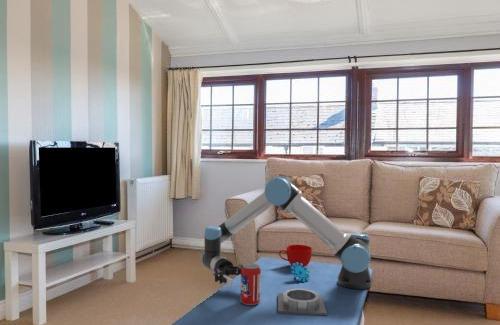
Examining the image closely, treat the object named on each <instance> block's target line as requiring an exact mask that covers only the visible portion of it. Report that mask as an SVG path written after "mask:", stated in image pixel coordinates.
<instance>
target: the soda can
mask: <svg viewBox="0 0 500 325" xmlns="http://www.w3.org/2000/svg"><path fill="white" fill-rule="evenodd" d="M261 274H262V270H261V268H260V265H259V264H257V263H251V262H248V263H243V267H242V269H241V274H240V302H241V303H242V304H244V305H245V306H256V305H258V304H259V303H260V302H261V289H262V288H261V283H262V281H261Z"/></svg>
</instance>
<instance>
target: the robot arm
mask: <svg viewBox="0 0 500 325" xmlns="http://www.w3.org/2000/svg"><path fill="white" fill-rule="evenodd" d="M273 206H277V207H278V208H279V209H281V210H282V211H283V212H289V213H290V214H291V215H293V217H295V218H296V219H297V220H298V221H299V222H301V223H302V224H303V225H304V226H305V227H307V228H308V229H309V230H310V231H311V232H312V233H313V234H314V235H315V236H316V237H318V238H319V239H320V240H322V242H324V244H326V245H327V246H328V247H329V248H331V251H332V252H331V253H332V255H333V256H335V258H336V259H338V260H339V261H340V263H341V267H340V270H339V273H338V276H337V284H338V285H339V286H342V287H344V288H348V289H353V290H354V289H355V290H365V289H370V288H371V287H372V284H373V283H372V282H373V280H372V276H371V273H370V269H369V266H370V263H371V258H372V257H371V253H370V242H371V240H370V236H369V235H368V234H366V233H365V234H364V233H357V232H344V231H342V229H341V228H339V227H338V226H337V225H336V224H335V223H333V222H332V220H330V219H329V218H328V217H327V216H325V215H324V214H323V213H322V212H320V211H319V210H318V208H316V207H315V206H314V205H313V204H311V203H310V201H308V200H307V199H306V198H304V197H303V193H302V190H300V189H299V188H298V187H297V186H296V183H295V181H294V180H293V179H292V177H290V176H288V175H283V174H282V175H278V176H275V177H272V178H271V179H270V180H268V182H267V183H266V184H265V186H264V191H263V192H262V193H261V194H260V195H258V196H257V197H256V198H254V199H253V200H251V201H250V202H248V203H247V204H246V205H245V206H244V207H242V208H241V209H240V210H238V211H237V212H235V213H234V214H233V215H232V216H230V217H229V218H227V220H224V222H222V223H221V224H219V225H209V226H206V227H205V229H204V235H203V237H204V251H203V253H202V254H201V255H200V263H201V264H202V265H203V266H204V267H205V268H207V269H209V270H211V271H212V273H213V274H212V275H213V276H214V282H215V283H217V282H219V284H223V283H224V284H225V285H227V286H229V287H230V288H231V287H232V288H233V279H232V278H231V277H229V276H233V275H235V276H239V275H241V269H242V267H243V265H244V264H243V265H242V264H239V265H238V266H236V265H234V264H233V262H232V261H231V260H229V259H227V258H226V257H224V256H222V254H221V252H222V250H221V248H222V247H221V245H222V243H224V242H225V241H227V240H228V239H230V237H232V236H233V235H235V234H236V233H237V232H238V231H239V232H240V230H241V229H243V228H244V227H246V226H247V225H248V224H250V223H252V221H254V220H255V219H257V218H258V217H260V216H261V215H262V214H264V213H265V212H266V211H268V209H270V208H271V207H273ZM262 276H263V275H262V273H261V282H262V280H263V277H262Z"/></svg>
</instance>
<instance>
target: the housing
mask: <svg viewBox="0 0 500 325" xmlns="http://www.w3.org/2000/svg"><path fill="white" fill-rule="evenodd" d="M277 307H278V308H277V312H278V314H286V315H287V314H288V315H308V316H328V311H327V309H326V308H327V307H326V304H325V302H324V299H323V296H322V294H319V293H318V292H316V291H314V290H310V289H307V288H290V289H287V290H285V291H283V293H282V292H281V293H279V292H278V293H277Z"/></svg>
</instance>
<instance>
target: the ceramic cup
mask: <svg viewBox="0 0 500 325" xmlns="http://www.w3.org/2000/svg"><path fill="white" fill-rule="evenodd" d="M283 252H285V253H286V257H287V258H285V257H283V256H282V253H283ZM278 255H279V258H281V260H284V261H287V262H289V265H290V267H292V264H293V263H296V262H298V263H299V264H298V266H300V264H301V263H302V264H303V266H301V267H305V266H306V267H308V265H309V264H310V262H311V260H312V255H313V248H312V247H311V246H310V245H304V244H289V245H287V246H286V250H285V249H281V250H279V252H278ZM295 266H296V264H295Z"/></svg>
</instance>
